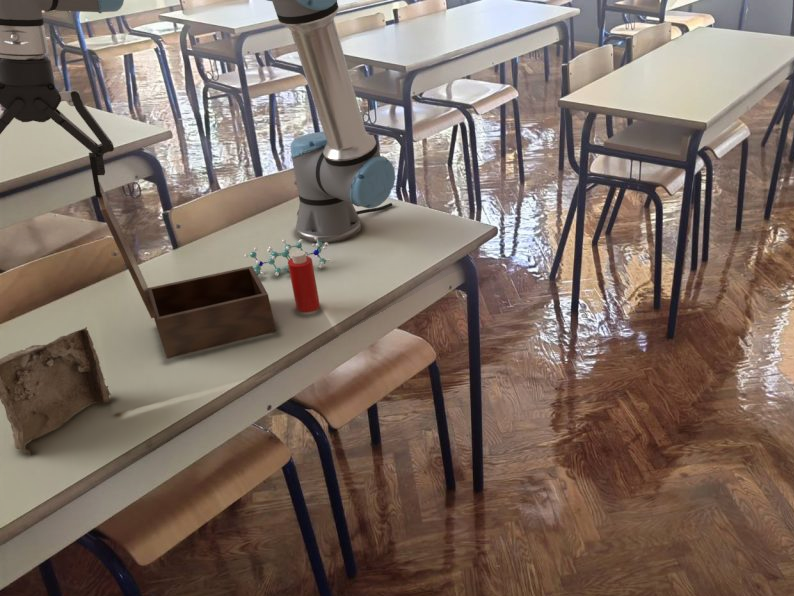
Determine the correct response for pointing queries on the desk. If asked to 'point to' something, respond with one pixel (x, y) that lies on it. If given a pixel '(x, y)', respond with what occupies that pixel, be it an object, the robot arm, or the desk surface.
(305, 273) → the bottle
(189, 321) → the storage box
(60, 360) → the mineral sample
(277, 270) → the molecule model
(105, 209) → the lid
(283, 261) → the desk surface
